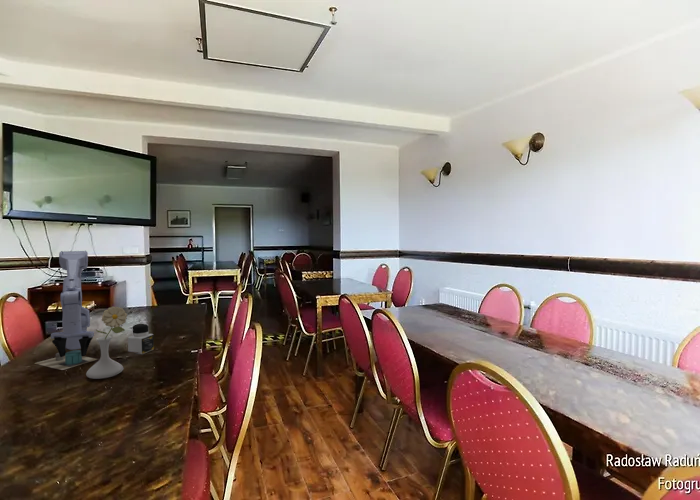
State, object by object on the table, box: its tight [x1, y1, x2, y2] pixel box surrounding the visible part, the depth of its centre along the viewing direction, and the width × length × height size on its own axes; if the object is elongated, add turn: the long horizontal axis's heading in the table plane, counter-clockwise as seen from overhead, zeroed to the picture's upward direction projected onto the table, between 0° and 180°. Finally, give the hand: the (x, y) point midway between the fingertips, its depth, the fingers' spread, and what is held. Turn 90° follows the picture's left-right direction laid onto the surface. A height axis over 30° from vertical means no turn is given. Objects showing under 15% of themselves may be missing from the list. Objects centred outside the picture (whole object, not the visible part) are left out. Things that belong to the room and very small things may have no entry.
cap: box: [65, 349, 82, 365], centre depth 147 cm, size 5×5×4 cm
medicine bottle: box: [127, 323, 155, 355], centre depth 164 cm, size 7×7×12 cm
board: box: [34, 352, 99, 371], centre depth 149 cm, size 18×13×4 cm
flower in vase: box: [85, 306, 128, 380], centre depth 137 cm, size 13×11×25 cm
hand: (73, 355), depth 147 cm, fingers open, 7 cm apart
